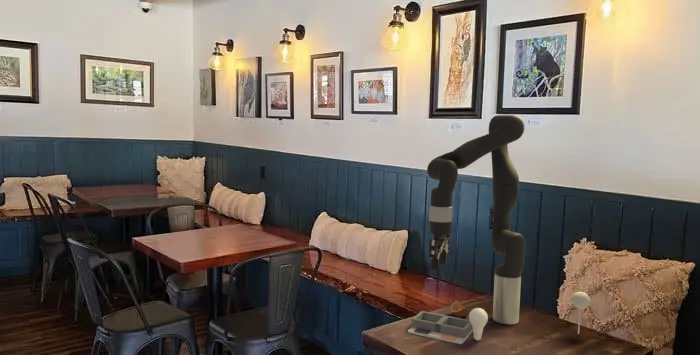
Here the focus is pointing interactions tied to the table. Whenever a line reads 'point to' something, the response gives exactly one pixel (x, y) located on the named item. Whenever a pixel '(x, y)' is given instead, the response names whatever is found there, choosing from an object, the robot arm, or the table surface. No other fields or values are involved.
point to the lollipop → (580, 303)
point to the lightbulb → (478, 322)
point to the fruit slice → (458, 309)
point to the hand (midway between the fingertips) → (439, 266)
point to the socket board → (441, 327)
